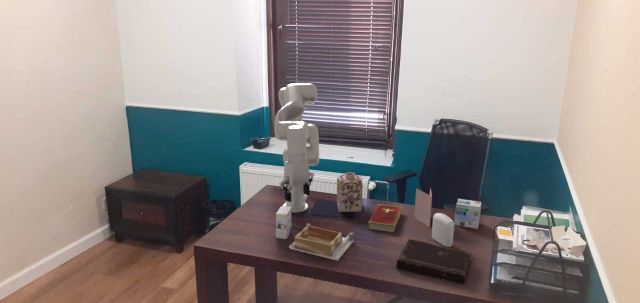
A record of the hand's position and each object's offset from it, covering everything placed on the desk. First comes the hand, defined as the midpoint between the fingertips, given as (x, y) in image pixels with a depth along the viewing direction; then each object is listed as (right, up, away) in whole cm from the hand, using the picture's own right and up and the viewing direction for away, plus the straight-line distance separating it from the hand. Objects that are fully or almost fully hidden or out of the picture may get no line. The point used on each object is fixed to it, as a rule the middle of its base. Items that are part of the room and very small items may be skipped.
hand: (297, 197), depth 182 cm
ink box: (-7, -18, +17) cm, 26 cm away
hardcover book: (+40, -15, +30) cm, 52 cm away
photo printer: (+61, -20, +11) cm, 65 cm away
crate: (+9, -20, +5) cm, 23 cm away
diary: (+53, -26, -7) cm, 60 cm away
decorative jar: (+24, -10, +45) cm, 51 cm away
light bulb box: (+77, -15, +27) cm, 83 cm away
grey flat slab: (+10, -21, +8) cm, 24 cm away
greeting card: (+57, -14, +29) cm, 66 cm away
